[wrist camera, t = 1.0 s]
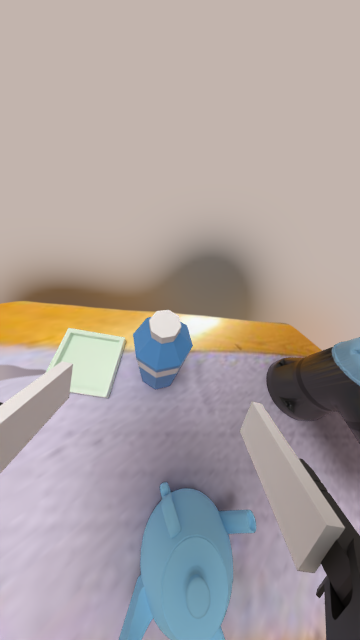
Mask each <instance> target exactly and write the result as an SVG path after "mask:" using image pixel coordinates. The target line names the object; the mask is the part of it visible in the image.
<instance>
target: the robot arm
mask: <svg viewBox="0 0 360 640" xmlns="http://www.w3.org/2000/svg"><path fill="white" fill-rule="evenodd" d="M72 369H73V364H72V363H68V362H63V361H61V362H60V363H59V364H57V365H56V366H55V367H53V368H52V369H50V370H49V371H48V372H46V373H45V374H43V375H42V376H41V377H39V378H38V379H37V380H35V381H34V382H32V383H31V384H30V385H28V386H27V387H25V388H24V389H23V390H21V391H20V392H19V393H17V394H16V395H14V396H13V397H12V398H10V399H9V400H7V401H6V402H5V403H0V473H1V472H2V471H3V470H4V469H5V468H6V467H7V465H8V464H9V463H10V462H11V461H12V460H13V459H14V458H15V457H16V456H17V454H18V453H19V452H20V451H21V450H22V449H23V448H24V447H25V446H26V444H27V443H28V442H29V441H30V440H31V439H32V438H33V437H34V436H35V435H36V433H37V432H38V431H39V430H40V429H41V428H42V427H43V426H44V425H45V423H46V422H47V421H48V420H49V419H50V418H51V417H52V416H53V415H54V413H55V412H56V411H57V410H58V409H59V408H60V407H61V406H62V405H63V404H64V402H65V401H66V400H67V399H68V398H69V394H70V386H71V377H72ZM267 386H268V390H269V393H270V395H271V397H272V399H273V401H274V402H275V403H276V405H277V406H278V407H279V408H280V409H281V410H282V411H283V412H284V413H285V414H287V415H288V416H290V417H292V418H294V419H297V420H302V421H313V420H317V419H320V418H322V417H323V416H325V415H327V414H329V413H331V412H333V411H339V412H340V414H341V416H342V417H343V418H344V420H345V421H346V423H347V425H348V426H349V428H350V429H351V431H352V432H353V434H354V435H355V437H356V439H357V440H358V442H359V443H360V337H359V338H355V339H352V340H349V341H345V342H340V343H338V344H336V345H334V347H331V348H329V349H326V350H323V351H321V352H318V353H315V354H313V355H310V356H308V357H305V358H284V359H281V360H279V361H276V362H275V363H273V364H272V365H271V367H270V368H269V370H268V373H267ZM240 433H241V435H242V438H243V440H244V442H245V445H246V447H247V450H248V452H249V455H250V457H251V459H252V462H253V464H254V467H255V469H256V471H257V474H258V476H259V479H260V481H261V484H262V486H263V488H264V491H265V493H266V496H267V498H268V501H269V503H270V505H271V508H272V510H273V513H274V515H275V518H276V520H277V522H278V525H279V527H280V530H281V532H282V535H283V537H284V539H285V542H286V544H287V547H288V549H289V552H290V554H291V556H292V559H293V561H294V564H295V566H296V569H297V571H303V572H310V573H315V572H316V570H317V569H318V567H319V566H320V564H322V566H323V568H324V570H325V572H326V574H327V576H326V577H325V579H324V580H323V582H322V583H321V584H320V586H319V587H318V589H317V593H316V595H317V596H318V597H319V598H320V597H321V595H322V594H323V593H324V592H325V616H326V640H360V536H359V534H358V533H357V532H356V530H355V529H354V527H353V526H352V525H351V523H350V522H349V520H348V519H347V518H346V516H345V515H344V513H343V512H342V511H341V509H340V508H339V506H338V505H337V503H336V502H335V501H334V499H333V498H332V496H331V495H330V494H329V493H328V492H327V489H326V488H325V487H324V485H323V484H322V483H321V482H320V479H319V478H318V477H317V475H316V474H315V472H314V471H313V470H312V469H311V468H310V467H309V466H308V464H307V463H306V462H305V461H304V460H303V459H299V458H298V457H297V456H296V454H295V453H294V451H293V450H292V448H291V447H290V445H289V444H288V442H287V441H286V439H285V438H284V436H283V435H282V433H281V432H280V430H279V429H278V428H277V426H276V425H275V423H274V422H273V420H272V419H271V417H270V416H269V414H268V413H267V411H266V410H265V408H264V407H263V405H262V404H261V403H256V402H251V405H250V407H249V410H248V412H247V415H246V417H245V420H244V422H243V425H242V427H241V429H240Z"/></svg>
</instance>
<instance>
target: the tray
mask: <svg viewBox="0 0 360 640" xmlns="http://www.w3.org/2000/svg"><path fill="white" fill-rule="evenodd" d="M125 343H126V340H125V337H119V336H113V335H107V334H101V333H95V332H89V331H83V330H78V329H72V328H68V330H67V332H66V334H65V336H64V338H63V340H62V342H61V344H60V346H59V348H58V350H57V352H56V353H55V355H54V357H53V359H52V361H51V363H50V365H49V367H48V369H47V371H46V372H48V371H49V370H50V369H52V368H53V367H55V366H56V365H57V364H59V363H60V362H61V361H63V362H68V363H72V364H73V369H72V377H71V386H70V393H76V394H83V395H90V396H96V397H103V398H109V396H110V392H111V389H112V386H113V382H114V379H115V376H116V373H117V369H118V366H119V363H120V360H121V356H122V353H123V350H124V347H125Z"/></svg>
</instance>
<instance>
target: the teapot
mask: <svg viewBox="0 0 360 640" xmlns="http://www.w3.org/2000/svg"><path fill="white" fill-rule="evenodd" d="M160 492H161V497H162V500H161V501H160V503H159V504H158V505H157V506H156V508H155V509H154V511H153V512H152V514H151V516H150V518H149V520H148V523H147V525H146V528H145V531H144V535H143V539H142V546H141V558H140V566H141V575H140V576H139V577H138V579H137V582H136V585H135V589H134V592H133V595H132V598H131V602H130V605H129V608H128V611H127V615H126V618H125V621H124V624H123V627H122V631H121V634H120V637H119V640H141V639H142V637H143V635H144V633H145V631H146V629H147V627H148V626H149V624H150V622H151V621H152V619H154V620H155V622H156V624H157V625H158V627H159V628H160V630H161V631H162V632H163V633H164V634H165V635H166V636H167V637H168V638H169V639H171V640H225V638H224V635H223V632H222V629H221V626H220V625H221V624H222V621H223V619H224V617H225V614H226V611H227V608H228V604H229V601H230V596H231V590H232V582H233V558H232V549H231V544H230V540H229V535H228V534H234V533H255V531H256V521H255V517H254V515H253V513H252V511H251V510H230V511H218V509H217V507H216V506H215V505H214V503H213V502H212V501H211V500H210V499H209V498H208V497H207V496H206V495H205V494H203V493H202V492H200V491H198V490H195V489H190V488H184V489H179V490H176V491H174V492H171V491H170V488H169V485H168V483H167V482H164V483H162V484H161V485H160Z"/></svg>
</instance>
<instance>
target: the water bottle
mask: <svg viewBox="0 0 360 640" xmlns="http://www.w3.org/2000/svg"><path fill="white" fill-rule="evenodd" d="M133 337H134V344H135V352H136V358H137V362H138V365H139V369H140V373H141V376H142V380H143V382H145V383H146V384H148V385H149V386H151V387H152V388H154V389H159V388H163V387H167V386H170V385H171V383H172V381H173V380H174V378H175V376H176V375H177V373H178V371H179V369H180V368H181V366H182V364H183V362H184V360H185V359H186V357H187V355H188V353H189V351H190V350H191V348H192V346H193V345H192V342H191V338H190V335H189V331H188V328H187V325H185V324H183V323H182V322H180V319H179V316H178V315H176V314H175V313H173V312H171V311H170V310H164V311H156V313H155V314H154V315H153V316H152V317H149V318H147V319H146V320H145V321H144V322H143V323H142V324H141V326H140V327H139V328H138V329H137V330H136V332H135V333H134V334H133Z"/></svg>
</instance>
